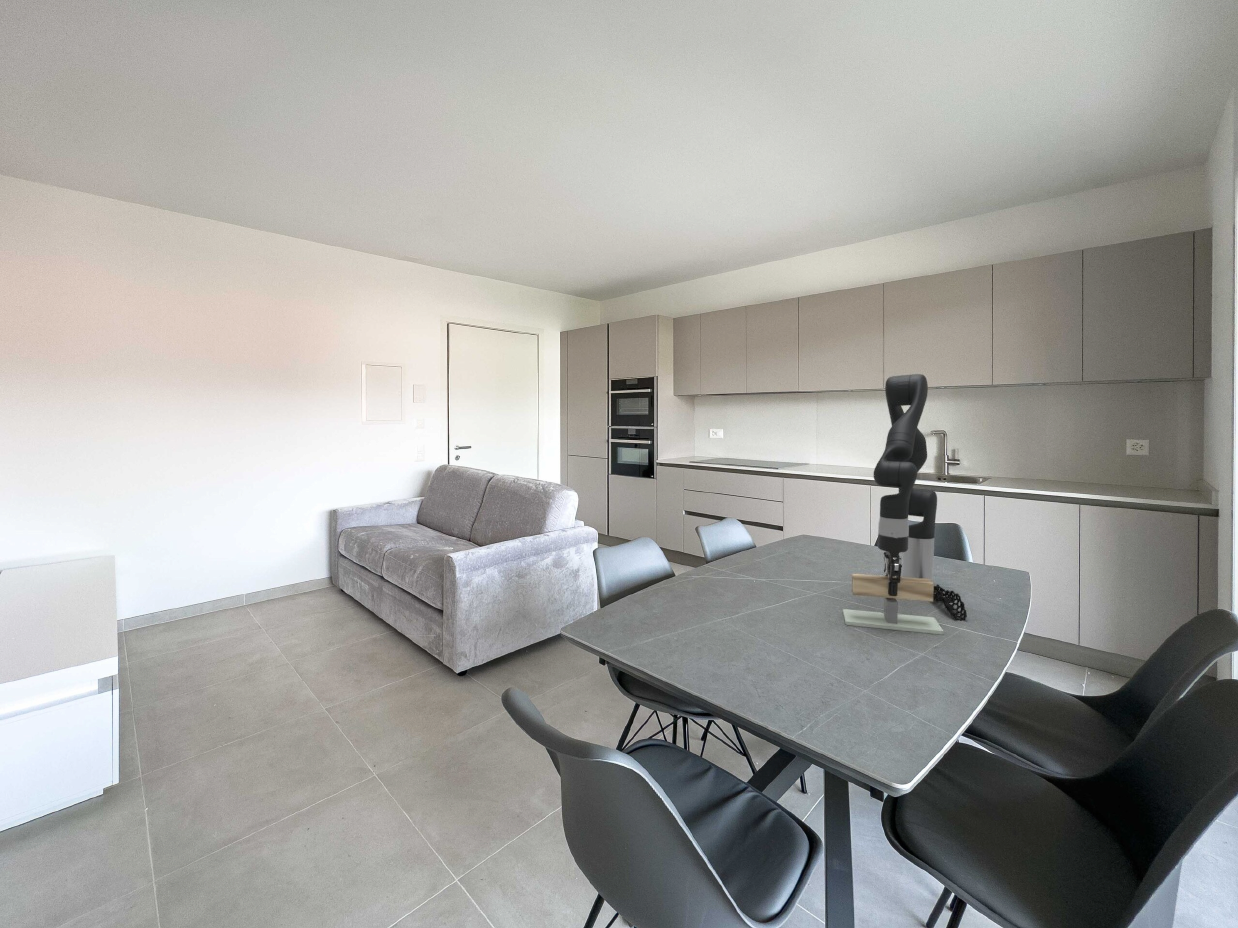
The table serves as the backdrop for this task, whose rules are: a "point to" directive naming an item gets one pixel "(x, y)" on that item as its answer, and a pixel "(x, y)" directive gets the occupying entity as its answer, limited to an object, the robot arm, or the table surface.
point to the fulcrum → (892, 619)
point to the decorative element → (950, 598)
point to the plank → (879, 587)
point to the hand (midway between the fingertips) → (891, 592)
